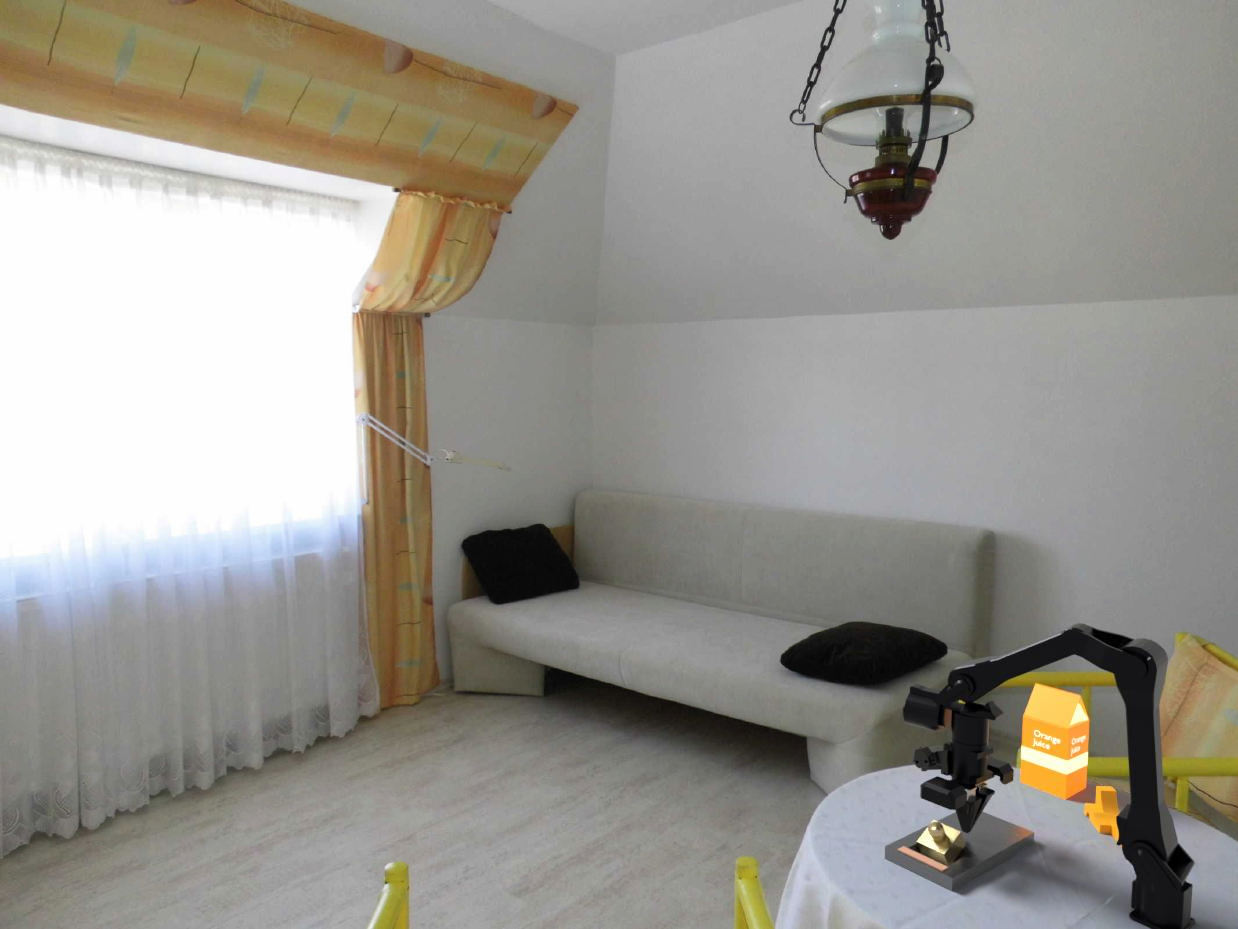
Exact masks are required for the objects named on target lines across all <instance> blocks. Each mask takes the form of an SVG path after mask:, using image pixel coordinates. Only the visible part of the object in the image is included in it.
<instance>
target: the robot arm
mask: <svg viewBox="0 0 1238 929" xmlns="http://www.w3.org/2000/svg"><path fill="white" fill-rule="evenodd" d="M1071 656H1077V657H1080V658H1082V659H1084V660H1086V661H1087V662H1089V663H1090V664H1092V665H1094V666H1095V667H1097V668H1099V669H1102V670H1104V671H1106V672H1109V673H1112V674H1113V676H1114V681H1115V685H1116V688H1117V691H1118V693H1119V695H1120V697H1121V699H1122V701H1123V704H1124V708H1125V720H1126V725H1125V726H1126V738H1127V739H1126V740H1127V755H1128V757H1127V758H1128V760H1127V762H1128V775H1129V776H1128V779H1129V795H1130V803H1126V804H1125V805H1124V806H1123V808H1122V809H1121V810H1120V811H1119V814H1118V815H1117V817H1116V822H1117V827H1118V831H1119V839H1118V841H1116V845H1117V846H1118V847H1119V846H1120V845H1122V847H1121V851H1122V855H1123V856H1124V859H1125V860H1126V861H1128V862H1129V863H1130V864H1131V866H1132V868H1133V870H1134V873H1135V876H1136V878H1135V879H1133V880H1132V881H1131V897H1130V907H1131V909H1132V910H1131V911H1130V912H1129V913H1128V917H1129V919H1131V920H1134V921H1137V922H1138V923H1141V924H1143V925H1145V926H1148V927H1150V928H1153V929H1190V928H1192V927H1193V926H1194V925H1195V924H1196V919H1195V918H1193V917H1192V916H1191V915H1192V900H1193V886H1194V885H1193V884H1192V883H1191V882H1188V881H1187V878H1188V876H1189V875H1190V873H1191V871H1192V869H1193V868H1194V866H1195V864H1196V863H1195V861H1194V859H1193V857H1192V856H1191V855H1190V854H1188V852H1187V851H1186V850H1185V849H1184V848H1183V846H1182V845H1181V844H1180V842H1179V840H1178V836H1177V831H1176V828H1175V823H1174V819H1173V817H1172V815H1171V813H1170V810H1169V807H1168V805H1167V804H1166V800H1165V791H1164V790H1165V789H1164V787H1165V786H1164V769H1163V768H1164V766H1163V754H1162V752H1163V750H1162V731H1161V718H1160V713H1161V712H1160V704H1161V697H1162V694H1163V691H1164V687H1165V682H1166V676H1167V670H1168V663H1169V657H1168V653H1167V652H1166V650H1165V648H1164V647H1162V646H1161V645H1160V644H1159V643H1158V642H1156V641H1154V640H1152V639H1148V638H1144V637H1143V638H1136V639H1135V638H1132V637H1129V636H1126V635H1124V634H1120V633H1116V632H1112V631H1107V630H1103V629H1099V628H1096V627H1093V626H1091V625H1088V624H1086V623H1082V622H1081V623H1080V622H1078V623H1075V624H1072V625H1071V626H1069V627H1067V628H1065V629H1064V630H1062V631H1059V632H1057V633H1054V634H1052V635H1049V636H1047V637H1045V638H1044V637H1043V638H1042V639H1039V640H1037V641H1034V642H1032V643H1030V644H1027V645H1024V646H1021V647H1019V648H1017V649H1014V650H1012V651H1010V652H1007V653H1004V654H1000V655H991V656H990V655H989V656H984V657H979V658H975V659H970V660H968V661H966V662H964V663H962V664H960V665H958V666H957V667H955V668H953V669H952V670H950V672H949V673H948V678H947V684H946V685H945V687H944V688H943V689H941V690H939V689H935V688H931V687H927V686H924V685H922V684H917V683H914V684H913V685H910V687H909V693H908V695H907V697H906V700H905V703H904V706H903V707H902V717H903V721H904V722H905V724H906V725H911V726H913V727H919V728H922V729H926V730H931V731H933V732H938V733H941V732H943V731H944V730H945V728H949V727H950V740H949V741H946V742H945V743H944V744H943V745H932V746H924V747H922V746H919V747H917V748H915V749H914V752H913V760H912V762H913V764H914V766H915V767H916V768H917V769H920V771H921V772H928V771H936V770H937V771H939V770H940V775H943V776H947V777H948V776H950V779H947V778H943V777H941V776H938V775H937V776H935V777H932V778H930V779H928V780H925V781H924V782H923V783H922V784H920V787H919V788H920V790H919V796H920V799H923V800H924V801H927V802H930V803H932V804H935V805H937V806H939V807H942V808H945V809H947V810H951V811H955V812H956V814H957V817H958V820H959V823H960V826H961V830H962V831H963V832H965V833H969V832H971V830H972V828H973V827H974V825H975V823H976V821H977V820H978V818H979V816H980V814H981V813H982V812H984V809H985V808H986V806H987V805H988V803H989V802H990V800H991V799H992V797H993V796H994V795H995V793H996V791H995V790H994V789H992V788H989V787H988V783H986V782H987V781H989V780H991V779H993V778H995V777H996V776H997V777H999V781H1000V782H1001V784H1002V785H1005V786H1006V785H1007V784H1009V783H1012V782H1014V773H1015V772H1014V771H1015V770H1014V769H1013V767H1012V766H1011V765H1010V763H1009V762H1006V761H1003V760H1001V759H998V758H995V757H992V756H990V755H992V754H994V746H992V745H989V734H990V733H989V730H990V721H996V720H998V719H999V718H1001V717H1002V716H1003V715H1004V711H1003V710H1002V709H1000V707H998V706H997V704H996V703H995V701H994V700H992V699H991V700H989V701H988V702H986V703H982V702H977V700H979V699H981V698H983V697H984V696H986V695H988V694H989V693H991V692H992V691H994V690H996V689H997V688H998V687H1000V686H1002V685H1003V684H1004V683H1006V682H1008V681H1009V680H1011V679H1014V678H1017V677H1019V676H1022V675H1024V674H1028V673H1030V672H1032V671H1036V670H1038V669H1040V668H1042V667H1046V666H1047V665H1050V664H1054V663H1056V662H1058V661H1061V660H1064V659H1066V658H1069V657H1071ZM958 701H961V702H958Z"/></svg>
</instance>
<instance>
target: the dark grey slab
mask: <svg viewBox="0 0 1238 929" xmlns="http://www.w3.org/2000/svg"><path fill="white" fill-rule="evenodd" d="M937 821H938V822H940V823H942V824H944V825H947V826H949V827H951V828H954V829H956V830H958V831H960V832H961V833H962V836H963V839H964V842H965V846H964V848H963V849H962V851H961V852H960V853H959V855H958V856H957V857H956V859H958V860H954V862H953V863H952V864H950V865H948V866H946V865H944V864H942V863H939V862H937V861H935V860H933V859H931V858H929V857H927V856H924V855H922V854H921V852H920V849H919V847H918V844H917V841H918V839H919V838H920V837H921V835H922V834H923V833H924V831H925V830H926V829H927V827H928V826H929V824H928V825H926V826H924V827H922V828H920V829H918V830H916V831H914V832H912V833H910V834H908V835H906V836H904V837H901V838H900V839H897V840H895V841H892V842H891V843H889V844H887V845H884V859H885V860H887V861H890V862H892V863H894V864H896V865H898V866H900V867H902V868H904V869H906V870H908V871H910V872H912V873H914V874H916V875H918V876H920V877H923V878H925V879H926V880H928V881H930V882H933V883H935V884H938V886H941V887H943V888H945V889H947V890H950V891H951V892H952V891H955V890H957V889H958V888H960V887H962V886H964V884H967V883H968V882H971V881H972V880H973V879H975V878H977V877H979V876H980V875H982V874H984V873H986V872H987V871H990V870H991V869H993V868H994V867H995V868H996V867H997V866H998V865H1000V864H1002V863H1004V862H1005V861H1006V860H1009V859H1010V858H1013V856H1015V855H1016V854H1018V853H1019V852H1021V851H1022V850H1025V849H1026V848H1028V846H1030V845H1032V844H1033V843H1035V831H1032V830H1030V829H1027V828H1024V827H1022V826H1020V825H1017V824H1015V823H1013V822H1011V821H1007V820H1004V819H1002V818H999V817H997V816H995V815H992V814H989V813H987V812H985V811H982V813H981V814H980V816H979V818H978V820H977V821H976V823H975V825H974V827H973V828H972V830H971V832H969V833H965V832H963V831H962V830H961V826H960V823H959V820H958V817H957V814H956V811H955V812H953V813H951V814H949V815H947V816H945V817H943V818H941V819H938V820H937Z"/></svg>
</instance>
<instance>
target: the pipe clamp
mask: <svg viewBox="0 0 1238 929" xmlns="http://www.w3.org/2000/svg"><path fill="white" fill-rule="evenodd" d="M1117 793H1118V792H1117V790H1116V789H1115V788H1114V787H1113V786H1111V785H1110V786H1109V785H1107V786H1105V785H1096V787H1095V802H1094V803H1090V802H1085V803H1084V815H1085V817H1088V818H1089V822H1090V823H1091V824H1092V826H1093V827H1094V828H1095V829H1096V831H1098V833H1099V834H1110V835H1111V836H1112V837H1113V838H1114V839H1115V841H1116V842H1117V841H1118V839H1119V831H1118V827H1117V822H1116V817H1117V815H1118V814H1119V813H1120V809H1119V805H1118V798H1117V796H1118V795H1117ZM1119 846H1120V848H1122V845H1119Z"/></svg>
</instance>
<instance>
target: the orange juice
mask: <svg viewBox="0 0 1238 929" xmlns="http://www.w3.org/2000/svg"><path fill="white" fill-rule="evenodd" d="M1028 700H1029V701H1028V703H1027V705H1026V708H1025V711H1024V713H1023V715H1022V728H1021V729H1022V731H1021V732H1022V734H1021V746H1020V748H1021V749H1020V778H1019V781H1020V783H1022V784H1024V785H1027V786H1030V787H1032V788H1035V789H1037V790H1039V791H1042V792H1045V793H1047V794H1050V795H1052V796H1055V797H1058V798H1059V799H1060V798H1061V800H1062V799H1063V800H1064V801H1065V800H1067V799H1069V798H1071V797H1072V796H1074V795H1076V794H1077V793H1079V792H1081V791H1083V790H1084V789H1086V788H1087V776H1088V762H1089V761H1088V760H1089V736H1090V718H1089V716H1088V713H1087V710H1086V707H1085V703H1084V702H1083V699H1082V696H1081V694H1077V693H1074V692H1070V691H1067V690H1063V689H1059V688H1056V687H1052V686H1049V685H1045V684H1042V683H1037V682H1035V683H1034V686H1033V690H1032V691H1031V694H1030V697H1029V699H1028Z"/></svg>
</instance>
